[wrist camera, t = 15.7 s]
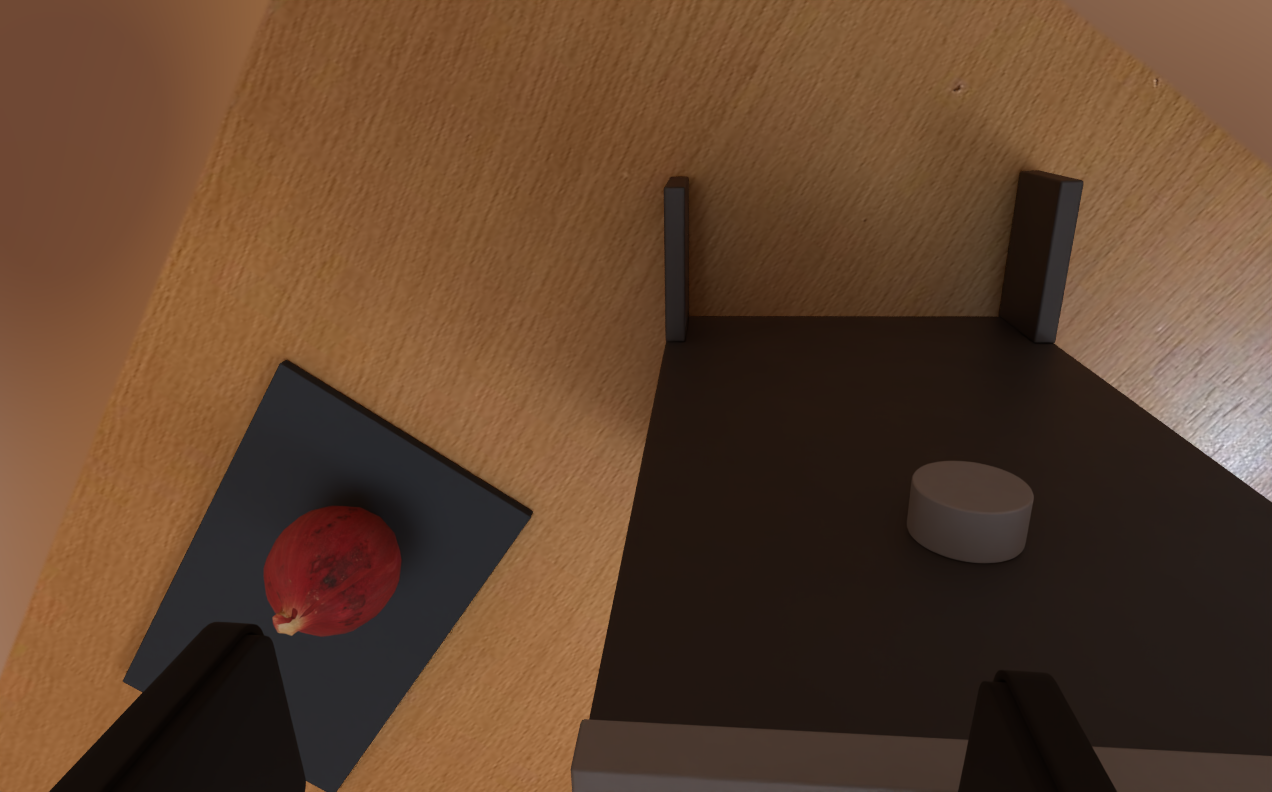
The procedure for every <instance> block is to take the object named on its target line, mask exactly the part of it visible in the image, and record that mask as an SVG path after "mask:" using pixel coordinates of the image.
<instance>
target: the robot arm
mask: <svg viewBox="0 0 1272 792" xmlns="http://www.w3.org/2000/svg"><path fill="white" fill-rule="evenodd" d="M305 786H306V779H305V774H304V769H303V765H302V761H301V757H300V753H299V748H298V744H297V740H296V736H295V732H294V728H293V723H292V719H291V715H290V711H289V707H288V702H287V698H286V694H285V690H284V686H283V681H282V677H281V673H280V669H279V665H278V660H277V656H276V652H275V648H274V644H273V641H272V639H271V638H270V637H269V636H264V634H263V632H262V629H261V628H260V627H259V626H258V625H256V624H248V623H231V622H213V623H210V624H208V625H207V626H206V627H205V628H203V629H202V630H201V631H200V633H199V634H198V635H197V636H196V637H195V638H194V639H193V640H192V641H191V642H190V643H189V644H188V645H187V646H186V647H185V648H184V649H183V651H182V652H181V653H180V654H179V655H178V656H177V657H176V658H175V659H174V660H173V661H172V662H171V663H170V664H169V665H168V666H167V667H166V669H165V670H164V671H163V672H162V673H161V674H160V675H159V676H158V677H157V678H156V679H155V680H154V681H153V682H152V683H151V684H150V685H149V687H148V688H147V689H146V690H145V691H144V692H143V693H142V694H141V695H140V696H139V697H138V698H137V699H136V700H135V701H134V702H133V703H132V704H131V706H130V707H129V708H128V709H127V710H126V711H125V712H124V713H123V714H122V715H121V716H120V717H119V718H118V719H117V720H116V721H115V722H114V724H113V725H112V726H111V727H110V728H109V729H108V730H107V731H106V732H105V733H104V734H103V735H102V736H101V737H100V738H99V739H98V740H97V742H96V743H95V744H94V745H93V746H92V747H91V748H90V749H89V750H88V751H87V752H86V753H85V754H84V755H83V756H82V757H81V758H80V760H79V761H78V762H77V763H76V764H75V765H74V766H73V767H72V768H71V769H70V770H69V771H68V772H67V773H66V774H65V775H64V776H63V777H62V779H61V780H60V781H59V782H58V783H57V784H56V785H55V786H54V787H53V788H52V789H51V790H50V791H49V792H305ZM958 792H1117V790H1116V789H1115V787H1114V785H1113V783H1112V781H1111V780H1110V778H1109V776H1108V774H1107V772H1106V771H1105V769H1104V767H1103V765H1102V763H1101V762H1100V760H1099V758H1098V756H1097V754H1096V753H1095V751H1094V749H1093V747H1092V745H1091V744H1090V742H1089V740H1088V738H1087V736H1086V735H1085V733H1084V731H1083V729H1082V727H1081V726H1080V724H1079V722H1078V720H1077V718H1076V717H1075V715H1074V713H1073V711H1072V709H1071V708H1070V706H1069V704H1068V702H1067V700H1066V699H1065V697H1064V695H1063V693H1062V691H1061V690H1060V688H1059V686H1058V684H1057V682H1056V681H1055V680H1054V678H1053V677H1052V676H1051V675H1050V674H1048V673H1044V672H1028V671H1012V670H998V672H997V673H996V674H995V677H994V680H993V681H982V683H981V684H980V687H979V690H978V695H977V700H976V705H975V710H974V715H973V720H972V725H971V730H970V735H969V740H968V745H967V750H966V754H965V759H964V764H963V769H962V774H961V779H960V784H959V789H958Z"/></svg>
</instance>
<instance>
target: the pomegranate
mask: <svg viewBox="0 0 1272 792" xmlns="http://www.w3.org/2000/svg"><path fill="white" fill-rule="evenodd" d="M400 569H401V554H400V549H399V546H398V543H397V540H396V536H395V533H394V532H393V531H392V530H391V529H390V527H389V526H388V525H387V524H386V523H385V522H384V521H383V520H382V518H381V517H379V516H377V515H375V514H373V513H371V512H369V511H367V510H365V509H363V508H361V507H348V506H328V507H324V508H320V509H316V510H312V511H309V512H308V513H306V514H304V515H302V516H300V517H299V518H298V519H297V520H295V521H294V522H293V523H292V524H290V525H289V526H288V527H287V528H285V529H284V530H283V532H282V533H281V534H280V535H279V537H278V538H277V539H276V541H275V543H274V545H273V547H272V549H271V551H270V553H269V555H268V557H267V559H266V562H265V565H264V583H265V591H266V596H267V599H268V601H269V603H270V605H271V607H272V608H273V610H274V612H275V613H276V615H274V616H273V624H274V627H275V629H276V630H277V632H278V633H285V634H288V635H291V636H292V635H293V634H295V633H296V632H297V631H300V632H302V633H307V634H311V635H315V636H321V637H322V636H331V635H338V634H345V633H348V632H351V631H354V630H355V629H357V628H358V627H360V626H362V625H363V624H365V623H366V622H368V621H369V620H371V619H372V618H374V617H375V616H377V614H378V613H379V612H380V611H381V610H382V609H383V608H384V607H385V605H386V604H387V602H388V601H389V599H390V598H391V596H392V595H393V594H394V592H395V590H396V587H397V584H398V582H399V578H400Z"/></svg>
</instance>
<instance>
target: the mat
mask: <svg viewBox="0 0 1272 792" xmlns="http://www.w3.org/2000/svg"><path fill="white" fill-rule="evenodd" d="M328 506H348V507H361V508H363V509H365V510H367V511H369V512H371V513H373V514H375V515H377V516H379V517H381V518H382V520H383V521H384V522H385V523H386V524H387V525H388V526H389V527H390V529H391V530H392V531H393V532H394V533H395V536H396V540H397V543H398V546H399V549H400V554H401V569H400V578H399V582H398V584H397V587H396V590H395V592H394V594H393V595H392V596H391V598H390V599H389V601H388V602H387V604H386V605H385V607H384V608H383V609H382V610H381V611H380V612H379V613H378V614H377V616H375V617H374V618H372V619H371V620H369V621H368V622H366V623H365V624H363V625H362V626H360V627H358V628H357V629H355V630H354V631H351V632H348V633H345V634H338V635H331V636H322V637H321V636H315V635H311V634H307V633H302V632H300V631H297V632H296V633H295V634H293V635H292V636H291V635H288V634H285V633H278V632H277V630H276V629H275V627H274V624H273V616H274V615H276V613H275V612H274V610H273V608H272V607H271V605H270V603H269V601H268V599H267V596H266V591H265V583H264V565H265V562H266V559H267V557H268V555H269V553H270V551H271V549H272V547H273V545H274V543H275V541H276V539H277V538H278V537H279V535H280V534H281V533H282V532H283V530H284V529H285V528H287V527H288V526H289V525H290V524H292V523H293V522H294V521H295V520H297V519H298V518H299V517H300V516H302V515H304V514H306V513H308V512H309V511H312V510H316V509H320V508H324V507H328ZM532 513H533V512H532V511H531V510H529V509H528V508H526V507H524V506H523V505H521V504H520V503H518V502H516V501H515V500H513V499H511V498H510V497H508V496H507V495H505V494H503V493H502V492H500V491H498V490H497V489H495V488H494V487H492V486H490V485H489V484H487V483H486V482H484V481H482V480H481V479H479V478H477V477H476V476H474V475H473V474H471V473H469V472H468V471H466V470H464V469H463V468H461V467H460V466H458V465H456V464H455V463H453V462H451V461H450V460H448V459H447V458H445V457H443V456H442V455H440V454H438V453H437V452H435V451H434V450H432V449H430V448H429V447H427V446H425V445H424V444H422V443H421V442H419V441H417V440H416V439H414V438H412V437H411V436H409V435H408V434H406V433H404V432H403V431H401V430H399V429H398V428H396V427H395V426H393V425H391V424H390V423H388V422H386V421H385V420H383V419H382V418H380V417H378V416H377V415H375V414H373V413H372V412H370V411H369V410H367V409H365V408H364V407H362V406H361V405H359V404H357V403H356V402H354V401H352V400H351V399H349V398H348V397H346V396H344V395H343V394H341V393H339V392H338V391H336V390H335V389H333V388H331V387H330V386H328V385H326V384H325V383H323V382H322V381H320V380H318V379H317V378H315V377H313V376H312V375H310V374H309V373H307V372H305V371H304V370H302V369H300V368H299V367H297V366H296V365H294V364H292V363H291V362H289V361H287V360H285V361H283V362H282V363H280V364H279V366H278V369H277V371H276V373H275V375H274V377H273V379H272V381H271V383H270V385H269V387H268V389H267V391H266V393H265V395H264V397H263V399H262V401H261V403H260V405H259V407H258V409H257V411H256V413H255V415H254V417H253V419H252V421H251V423H250V425H249V427H248V429H247V431H246V433H245V435H244V437H243V439H242V441H241V443H240V445H239V447H238V449H237V451H236V453H235V455H234V457H233V459H232V461H231V463H230V465H229V467H228V469H227V472H226V474H225V476H224V478H223V480H222V482H221V484H220V486H219V488H218V490H217V492H216V494H215V496H214V498H213V500H212V502H211V504H210V506H209V508H208V510H207V512H206V514H205V516H204V518H203V520H202V522H201V524H200V526H199V528H198V530H197V532H196V534H195V536H194V538H193V540H192V542H191V544H190V546H189V548H188V550H187V552H186V554H185V556H184V558H183V560H182V562H181V564H180V566H179V568H178V570H177V572H176V575H175V577H174V579H173V581H172V583H171V585H170V587H169V589H168V591H167V593H166V595H165V597H164V599H163V601H162V603H161V605H160V607H159V609H158V611H157V613H156V615H155V617H154V619H153V621H152V623H151V625H150V627H149V629H148V631H147V633H146V635H145V637H144V639H143V641H142V643H141V645H140V647H139V649H138V651H137V653H136V655H135V657H134V659H133V661H132V663H131V665H130V667H129V669H128V671H127V673H126V675H125V678H124V680H123V682H124V683H126V684H128V685H130V686H132V687H134V688H136V689H137V690H139V691H141V692H144V691H145V690H146V689H147V688H148V687H149V685H150V684H151V683H152V682H153V681H154V680H155V679H156V678H157V677H158V676H159V675H160V674H161V673H162V672H163V671H164V670H165V669H166V667H167V666H168V665H169V664H170V663H171V662H172V661H173V660H174V659H175V658H176V657H177V656H178V655H179V654H180V653H181V652H182V651H183V649H184V648H185V647H186V646H187V645H188V644H189V643H190V642H191V641H192V640H193V639H194V638H195V637H196V636H197V635H198V634H199V633H200V631H201V630H202V629H203V628H205V627H206V626H207V625H208V624H210V623H213V622H231V623H248V624H256V625H258V626H259V627H260V628H261V629H262V632H263V634H264V636H269V637H270V638H271V639H272V641H273V644H274V648H275V652H276V656H277V660H278V665H279V669H280V673H281V677H282V681H283V686H284V690H285V694H286V698H287V702H288V707H289V711H290V715H291V719H292V723H293V728H294V732H295V736H296V740H297V744H298V748H299V753H300V757H301V761H302V765H303V769H304V774H305V779H306V781H307V782H309V783H311V784H313V785H315V786H317V787H318V788H320V789H322V790H324V791H326V792H337V790H338V789H339V787H340V786H341V784H342V783H343V782H344V780H345V779H346V777H347V776H348V775H349V773H350V772H351V770H352V769H353V768H354V766H355V765H356V763H357V762H358V760H359V759H360V758H361V756H362V755H363V753H364V752H365V751H366V749H367V748H368V746H369V745H370V744H371V742H372V741H373V739H374V738H375V736H376V735H377V734H378V732H379V731H380V729H381V728H382V727H383V725H384V724H385V722H386V721H387V720H388V718H389V717H390V715H391V714H392V712H393V711H394V710H395V708H396V707H397V705H398V704H399V703H400V701H401V700H402V698H403V697H404V696H405V694H406V693H407V691H408V690H409V689H410V687H411V686H412V684H413V683H414V681H415V680H416V679H417V677H418V676H419V674H420V673H421V672H422V670H423V669H424V667H425V666H426V665H427V663H428V662H429V660H430V659H431V657H432V656H433V655H434V653H435V652H436V650H437V649H438V648H439V646H440V645H441V643H442V642H443V641H444V639H445V638H446V636H447V635H448V633H449V632H450V631H451V629H452V628H453V626H454V625H455V624H456V622H457V621H458V619H459V618H460V617H461V615H462V614H463V612H464V611H465V609H466V608H467V607H468V605H469V604H470V602H471V601H472V600H473V598H474V597H475V595H476V594H477V593H478V591H479V590H480V588H481V587H482V586H483V584H484V583H485V581H486V580H487V578H488V577H489V576H490V574H491V573H492V571H493V570H494V569H495V567H496V566H497V564H498V563H499V562H500V560H501V559H502V557H503V556H504V554H505V553H506V552H507V550H508V549H509V547H510V546H511V545H512V543H513V542H514V540H515V539H516V538H517V536H518V535H519V533H520V532H521V530H522V529H523V528H524V526H525V525H526V523H527V522H528V521H529V519H530V518H531V516H532Z"/></svg>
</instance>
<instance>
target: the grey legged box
mask: <svg viewBox="0 0 1272 792" xmlns="http://www.w3.org/2000/svg"><path fill="white" fill-rule="evenodd" d="M1082 189H1083V181H1082V180H1078V179H1074V178H1069V177H1065V176H1061V175H1056V174H1052V173H1047V172H1043V171H1021V172H1020V177H1019V184H1018V190H1017V197H1016V204H1015V210H1014V217H1013V224H1012V230H1011V237H1010V244H1009V251H1008V257H1007V264H1006V271H1005V277H1004V284H1003V291H1002V297H1001V304H1000V311H999V316H1000V317H880V316H689V178H688V177H670V179H669V180H668V182H667V184H666V186H665V187H664V249H665V332H666V344H665V349H664V354H663V359H662V364H661V369H660V374H659V379H658V384H657V388H656V393H655V398H654V403H653V408H652V413H651V418H650V423H649V428H648V433H647V438H646V443H645V447H644V452H643V457H642V462H641V467H640V472H639V477H638V482H637V487H636V492H635V497H634V502H633V506H632V511H631V516H630V521H629V526H628V531H627V536H626V541H625V546H624V551H623V556H622V561H621V566H620V570H619V575H618V580H617V585H616V590H615V595H614V600H613V605H612V610H611V615H610V620H609V625H608V629H607V634H606V639H605V644H604V649H603V654H602V659H601V664H600V669H599V674H598V679H597V684H596V688H595V693H594V698H593V703H592V708H591V713H590V718H589V720H588V719H584V720H582V722H581V724H580V728H579V733H578V738H577V742H576V747H575V752H574V756H573V761H572V765H571V780H572V792H958V789H959V784H960V779H961V774H962V769H963V764H964V759H965V754H966V750H967V745H968V740H969V735H970V730H971V725H972V720H973V715H974V710H975V705H976V700H977V695H978V690H979V687H980V684H981V683H982V681H993V680H994V677H995V674H996V673H997V672H998V670H1012V671H1028V672H1044V673H1048V674H1050V675H1051V676H1052V677H1053V678H1054V680H1055V681H1056V682H1057V684H1058V686H1059V688H1060V690H1061V691H1062V693H1063V695H1064V697H1065V699H1066V700H1067V702H1068V704H1069V706H1070V708H1071V709H1072V711H1073V713H1074V715H1075V717H1076V718H1077V720H1078V722H1079V724H1080V726H1081V727H1082V729H1083V731H1084V733H1085V735H1086V736H1087V738H1088V740H1089V742H1090V744H1091V745H1092V747H1093V749H1094V751H1095V753H1096V754H1097V756H1098V758H1099V760H1100V762H1101V763H1102V765H1103V767H1104V769H1105V771H1106V772H1107V774H1108V776H1109V778H1110V780H1111V781H1112V783H1113V785H1114V787H1115V789H1116V790H1117V792H1272V502H1271V501H1269V500H1268V499H1266V498H1265V497H1264V496H1262V495H1261V494H1260V493H1258V492H1257V491H1255V490H1254V489H1253V488H1251V487H1250V486H1249V485H1247V484H1246V483H1244V482H1243V481H1242V480H1240V479H1239V478H1238V477H1236V476H1235V475H1233V474H1232V473H1231V472H1229V471H1228V470H1227V469H1225V468H1224V467H1222V466H1221V465H1220V464H1218V463H1217V462H1216V461H1214V460H1213V459H1212V458H1210V457H1209V456H1207V455H1206V454H1205V453H1203V452H1202V451H1201V450H1199V449H1198V448H1196V447H1195V446H1194V445H1192V444H1191V443H1190V442H1188V441H1187V440H1185V439H1184V438H1183V437H1181V436H1180V435H1179V434H1177V433H1176V432H1174V431H1173V430H1172V429H1170V428H1169V427H1168V426H1166V425H1165V424H1163V423H1162V422H1161V421H1159V420H1158V419H1157V418H1155V417H1154V416H1152V415H1151V414H1150V413H1148V412H1147V411H1146V410H1144V409H1143V408H1141V407H1140V406H1139V405H1137V404H1136V403H1135V402H1133V401H1132V400H1131V399H1129V398H1128V397H1126V396H1125V395H1124V394H1122V393H1121V392H1120V391H1118V390H1117V389H1115V388H1114V387H1113V386H1111V385H1110V384H1109V383H1107V382H1106V381H1104V380H1103V379H1102V378H1100V377H1099V376H1098V375H1096V374H1095V373H1093V372H1092V371H1091V370H1089V369H1088V368H1087V367H1085V366H1084V365H1082V364H1081V363H1080V362H1078V361H1077V360H1076V359H1074V358H1073V357H1071V356H1070V355H1069V354H1067V353H1066V352H1065V351H1063V350H1062V349H1060V348H1059V347H1058V346H1056V345H1055V344H1054V343H1055V340H1056V334H1057V328H1058V323H1059V317H1060V312H1061V306H1062V300H1063V295H1064V289H1065V284H1066V278H1067V273H1068V267H1069V261H1070V256H1071V250H1072V245H1073V239H1074V233H1075V228H1076V222H1077V217H1078V211H1079V205H1080V200H1081V194H1082Z"/></svg>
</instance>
